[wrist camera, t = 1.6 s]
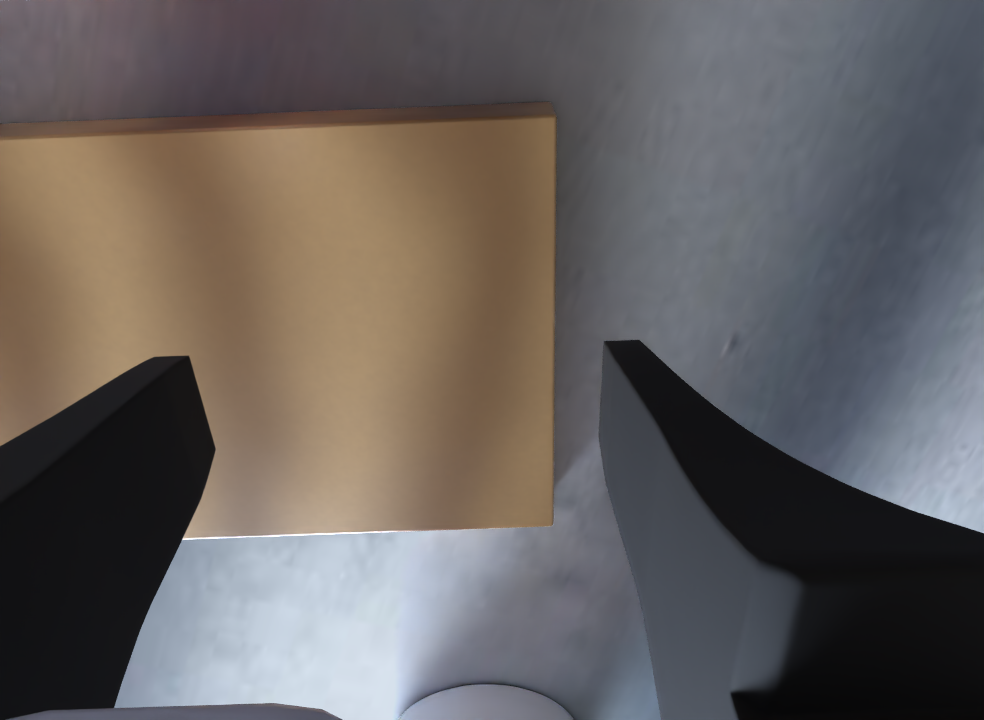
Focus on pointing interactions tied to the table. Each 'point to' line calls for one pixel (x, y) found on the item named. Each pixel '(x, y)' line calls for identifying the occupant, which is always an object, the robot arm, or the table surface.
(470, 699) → the fruit juice
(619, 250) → the table surface
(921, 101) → the table surface
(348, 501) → the oak board
